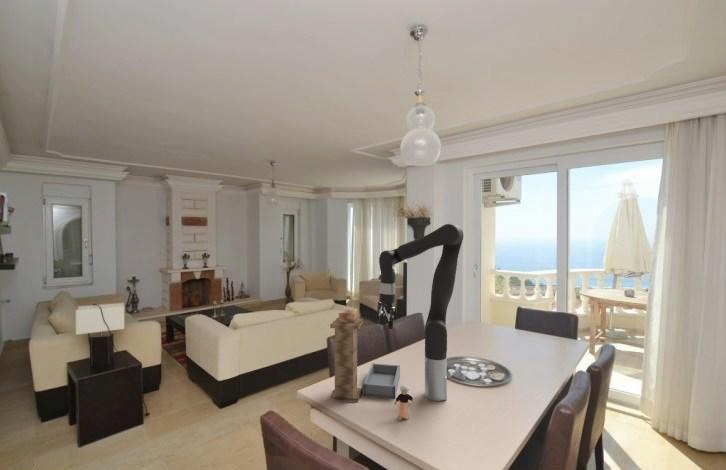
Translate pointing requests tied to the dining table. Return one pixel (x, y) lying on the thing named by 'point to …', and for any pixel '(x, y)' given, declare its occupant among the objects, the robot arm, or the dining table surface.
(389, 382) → the tote
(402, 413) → the grandmother figurine
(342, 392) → the brown tall square column
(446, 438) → the dining table surface
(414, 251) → the robot arm
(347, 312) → the mallet
